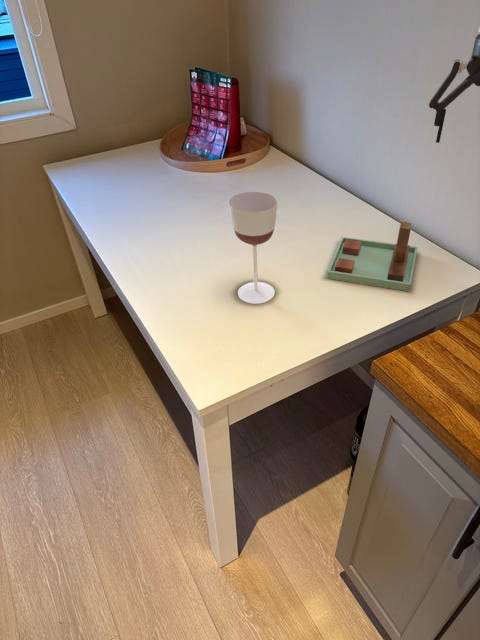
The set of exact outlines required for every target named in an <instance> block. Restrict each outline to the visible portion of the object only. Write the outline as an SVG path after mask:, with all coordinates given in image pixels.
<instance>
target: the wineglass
mask: <svg viewBox="0 0 480 640" xmlns="http://www.w3.org/2000/svg"><path fill="white" fill-rule="evenodd" d="M228 208H229V214H230V219H231V225H232V227H233V231H234V233H235V236H236V237H237V238H238V239H239V240H240V241H241V242H243V243H245V244H247V245H250V246H252V265H253V266H252V267H253V281H251V282H248V283H245V284H243V285H241V287H239V289H238V291H237V296H238V298H239V299H240V300H241V301H243V302H245V303H247V304H255V305H257V304H263V303H266V302H268V301H270V300H272V299H273V298H274V296H275V294H276V293H275V289H274V287H273V286H272V285H270V284H268V283H266V282H262V281H259V280H258V279H259V277H258V250H257V248H258V247H257V246H258V245H262V244H265V243H266V242H269V240H270V239H272V237H273V234H274V231H275V226H276V222H277V212H278V200H277V198H276V197H275V196H274V195H272V194H269V193H267V192H262V191H246V192H241V193H237V194H235V195H233V196H232V197H230V199H229V200H228Z"/></svg>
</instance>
